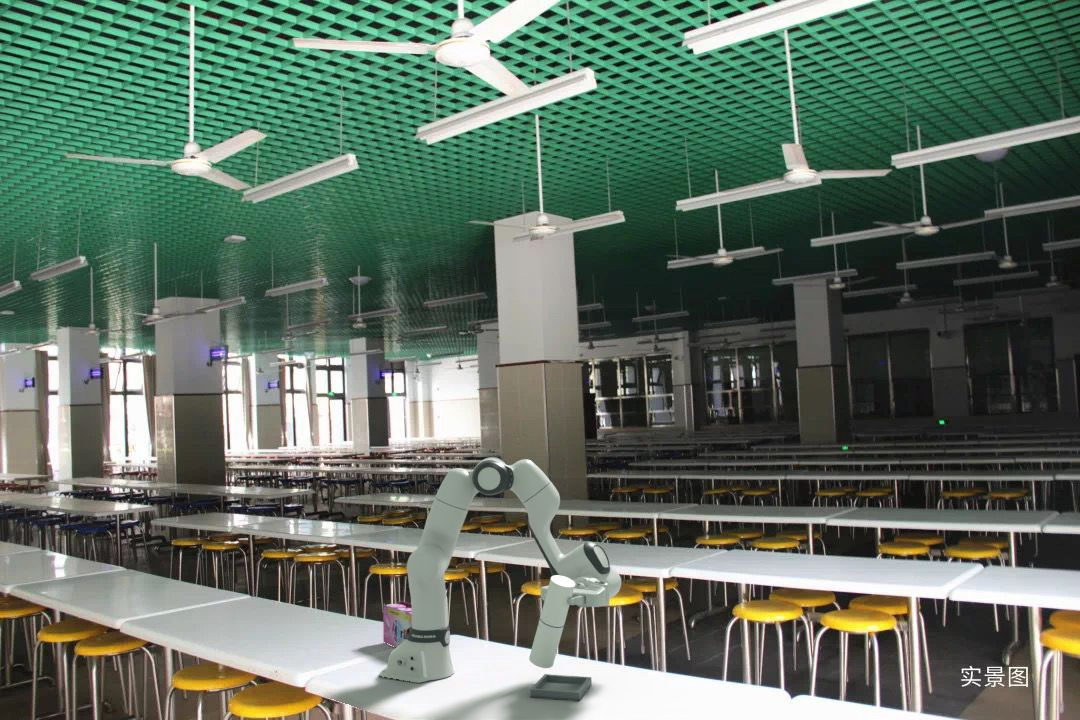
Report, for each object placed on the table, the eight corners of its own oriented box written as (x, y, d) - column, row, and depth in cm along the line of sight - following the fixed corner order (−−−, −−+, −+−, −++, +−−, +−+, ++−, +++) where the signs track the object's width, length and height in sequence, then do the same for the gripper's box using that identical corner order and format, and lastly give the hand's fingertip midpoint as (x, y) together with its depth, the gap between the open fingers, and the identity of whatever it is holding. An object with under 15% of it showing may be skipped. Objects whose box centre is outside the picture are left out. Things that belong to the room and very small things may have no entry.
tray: (530, 697, 225) (530, 689, 225) (545, 681, 238) (544, 674, 238) (579, 701, 221) (579, 692, 221) (591, 685, 234) (591, 677, 234)
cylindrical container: (534, 668, 230) (556, 586, 226) (525, 654, 236) (547, 574, 233) (557, 668, 233) (579, 587, 229) (547, 654, 239) (569, 576, 236)
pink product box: (380, 642, 287) (380, 603, 288) (400, 638, 291) (400, 599, 293) (414, 656, 268) (413, 614, 269) (435, 652, 273) (434, 610, 274)
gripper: (556, 577, 248) (528, 585, 237) (613, 583, 236) (586, 592, 225) (556, 598, 248) (528, 607, 237) (613, 606, 235) (587, 616, 224)
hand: (557, 600), depth 231 cm, fingers closed on cylindrical container, 7 cm apart
